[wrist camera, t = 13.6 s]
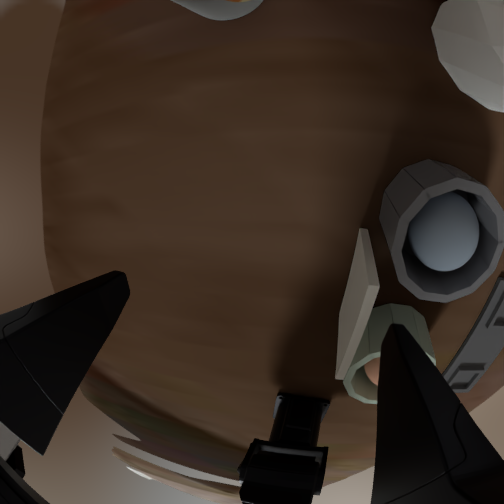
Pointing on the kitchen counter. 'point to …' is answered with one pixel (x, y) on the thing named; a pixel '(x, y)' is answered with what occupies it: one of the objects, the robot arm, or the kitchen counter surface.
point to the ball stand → (479, 344)
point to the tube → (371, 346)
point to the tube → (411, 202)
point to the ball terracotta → (373, 370)
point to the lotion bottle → (220, 8)
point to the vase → (473, 48)
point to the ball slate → (444, 232)
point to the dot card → (356, 302)
